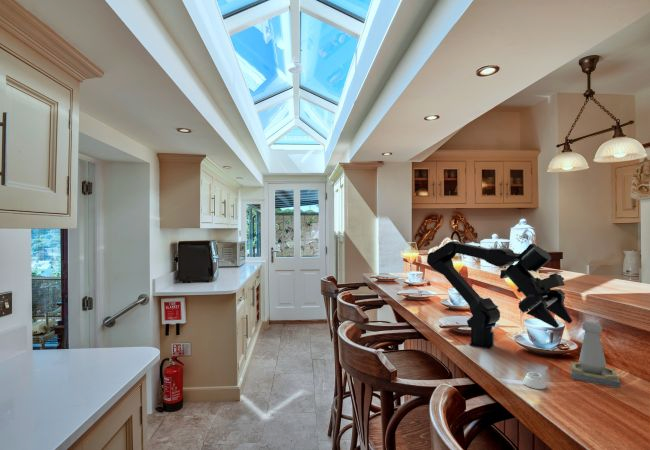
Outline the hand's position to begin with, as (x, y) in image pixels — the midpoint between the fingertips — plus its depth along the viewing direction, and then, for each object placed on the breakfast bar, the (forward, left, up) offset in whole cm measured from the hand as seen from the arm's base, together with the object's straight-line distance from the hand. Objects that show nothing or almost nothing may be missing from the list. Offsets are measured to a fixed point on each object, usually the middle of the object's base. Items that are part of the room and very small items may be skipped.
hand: (564, 324), depth 102 cm
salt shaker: (+6, -2, -11) cm, 13 cm away
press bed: (+6, -2, -12) cm, 14 cm away
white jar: (-6, -18, -13) cm, 23 cm away
